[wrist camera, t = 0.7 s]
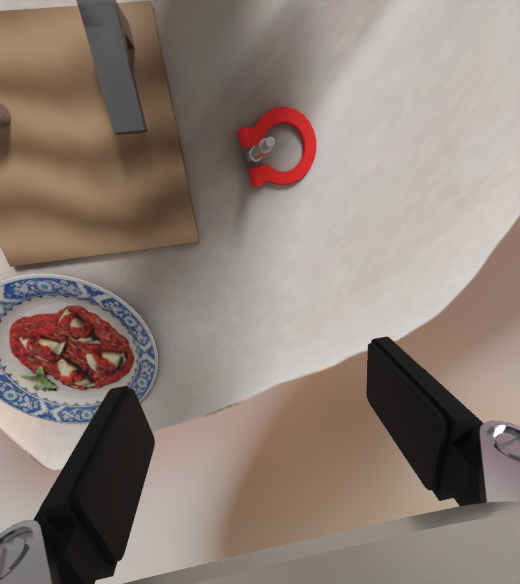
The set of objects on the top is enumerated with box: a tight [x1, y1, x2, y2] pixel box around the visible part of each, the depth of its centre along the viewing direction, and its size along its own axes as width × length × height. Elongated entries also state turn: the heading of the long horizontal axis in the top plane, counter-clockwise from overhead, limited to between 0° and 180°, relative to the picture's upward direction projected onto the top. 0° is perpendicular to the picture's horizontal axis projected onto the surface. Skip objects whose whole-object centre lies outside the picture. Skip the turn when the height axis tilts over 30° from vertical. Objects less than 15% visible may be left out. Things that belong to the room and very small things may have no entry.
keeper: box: [77, 0, 148, 135], centre depth 26 cm, size 10×3×4 cm, turn 6°
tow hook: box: [237, 107, 316, 187], centre depth 27 cm, size 8×13×9 cm
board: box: [0, 1, 199, 267], centre depth 30 cm, size 24×24×1 cm
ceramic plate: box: [0, 274, 158, 423], centre depth 38 cm, size 26×26×3 cm
